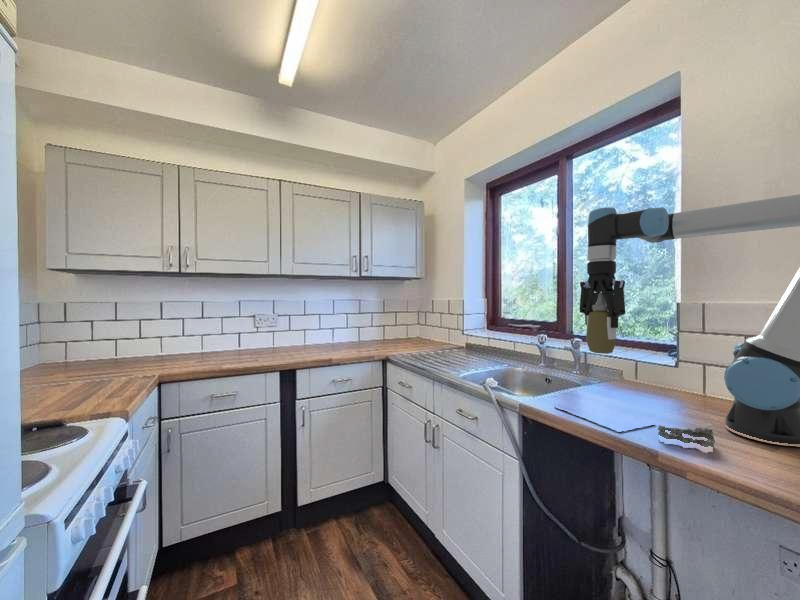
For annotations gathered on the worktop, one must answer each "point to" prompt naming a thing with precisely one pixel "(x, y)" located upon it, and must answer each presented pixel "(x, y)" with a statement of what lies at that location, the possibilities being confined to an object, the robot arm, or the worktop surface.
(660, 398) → the worktop surface
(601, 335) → the squeeze bottle
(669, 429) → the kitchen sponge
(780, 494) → the worktop surface
